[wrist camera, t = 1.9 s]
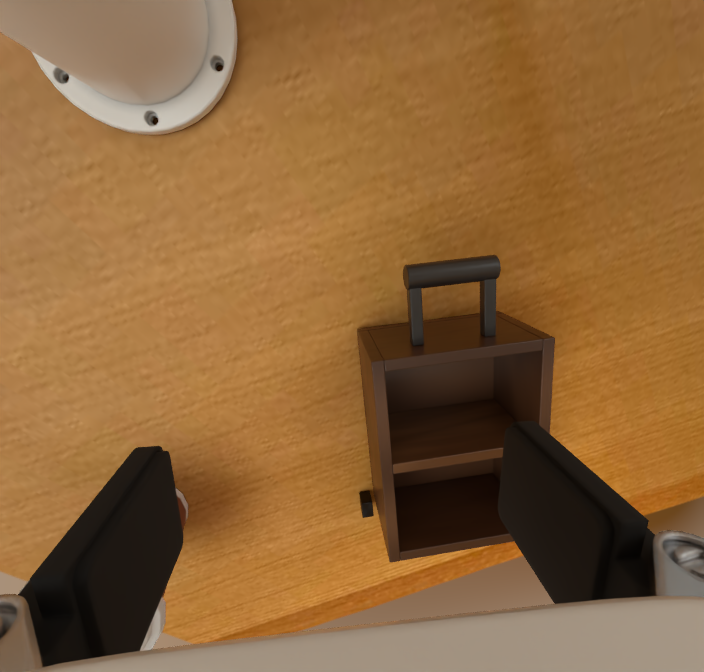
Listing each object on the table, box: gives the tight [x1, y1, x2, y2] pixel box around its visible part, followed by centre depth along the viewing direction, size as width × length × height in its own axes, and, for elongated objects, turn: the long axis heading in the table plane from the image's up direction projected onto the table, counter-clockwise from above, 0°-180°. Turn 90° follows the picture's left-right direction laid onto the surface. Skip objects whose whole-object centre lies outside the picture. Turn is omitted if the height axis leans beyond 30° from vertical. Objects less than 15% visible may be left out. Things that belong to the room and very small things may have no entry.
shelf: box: [357, 255, 555, 562], centre depth 30 cm, size 21×12×8 cm, turn 6°
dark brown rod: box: [359, 491, 373, 518], centre depth 36 cm, size 2×15×2 cm, turn 96°
